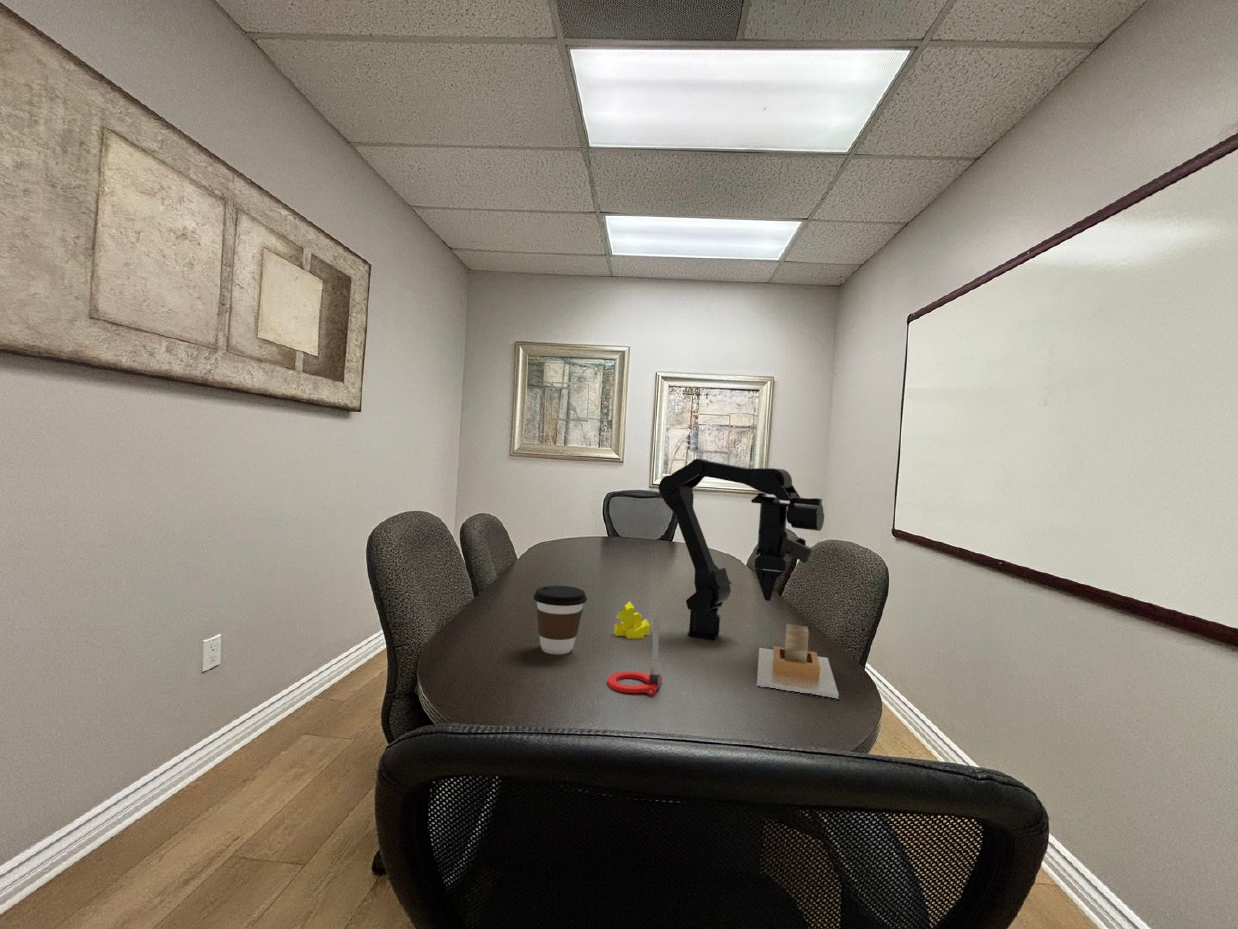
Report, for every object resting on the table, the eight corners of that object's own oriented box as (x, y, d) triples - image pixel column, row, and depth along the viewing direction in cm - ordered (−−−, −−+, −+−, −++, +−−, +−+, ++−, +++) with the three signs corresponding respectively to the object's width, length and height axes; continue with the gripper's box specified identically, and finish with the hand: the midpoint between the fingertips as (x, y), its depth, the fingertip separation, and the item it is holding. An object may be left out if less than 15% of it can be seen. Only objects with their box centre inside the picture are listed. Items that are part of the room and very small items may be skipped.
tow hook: (601, 692, 96) (653, 699, 93) (603, 616, 96) (655, 622, 94) (615, 675, 104) (663, 681, 101) (616, 606, 104) (665, 610, 102)
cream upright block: (784, 670, 108) (786, 629, 108) (783, 663, 112) (786, 623, 112) (805, 673, 107) (808, 632, 107) (804, 666, 111) (807, 626, 111)
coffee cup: (519, 652, 111) (523, 592, 111) (546, 637, 121) (550, 582, 121) (568, 662, 107) (572, 600, 107) (592, 646, 117) (595, 590, 117)
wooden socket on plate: (756, 686, 102) (757, 667, 102) (758, 652, 121) (760, 636, 121) (838, 700, 98) (839, 680, 98) (827, 662, 117) (828, 646, 117)
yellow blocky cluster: (652, 638, 126) (654, 604, 126) (618, 639, 124) (621, 604, 124) (643, 630, 132) (646, 597, 132) (611, 631, 129) (613, 598, 129)
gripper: (814, 533, 111) (808, 611, 112) (808, 525, 129) (803, 591, 130) (757, 528, 114) (751, 603, 114) (758, 520, 132) (754, 586, 132)
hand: (767, 596), depth 123 cm, fingers open, 9 cm apart
